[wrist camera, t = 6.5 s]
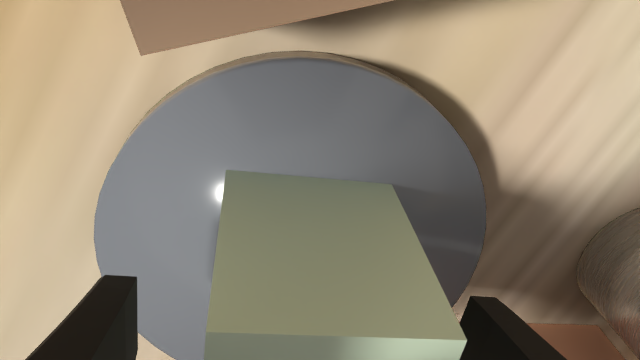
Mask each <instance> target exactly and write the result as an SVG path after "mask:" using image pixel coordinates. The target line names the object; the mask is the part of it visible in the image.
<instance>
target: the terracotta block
mask: <svg viewBox="0 0 640 360" xmlns="http://www.w3.org/2000/svg"><path fill="white" fill-rule="evenodd" d="M459 323H460V322H459ZM526 324H528V325H529V326H530V327H531V328H532V329H533V330H534V331H535V332H537V333H538V334H539V335H540V336H541V337H542V338H543V339H544V340H546V341H547V342H548V343H549V344H550V345H551V346H552V347H553V348H555V349H556V350H557V351H558V352H559V353H560V354H561V355H562V356H564V357H565V358H566V359H567V360H625V359H624V358H623V356H622V355H621V354H620V353H619V351H618V350H617V349H616V348H615V347H614V345H613V344H612V343H611V342H610V340H609V339H608V338H607V337H606V335H605V334H604V333H603V332H602V331H601V329H600V328H599V327H598V326H597V325H574V324H533V323H526Z"/></svg>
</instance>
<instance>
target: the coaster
mask: <svg viewBox="0 0 640 360" xmlns="http://www.w3.org/2000/svg"><path fill="white" fill-rule="evenodd" d="M226 170H235V171H246V172H258V173H269V174H280V175H292V176H303V177H315V178H326V179H337V180H349V181H360V182H371V183H383V184H392V186H393V188H394V190H395V192H396V194H397V196H398V198H399V201H400V203H401V205H402V207H403V209H404V211H405V213H406V215H407V217H408V219H409V221H410V223H411V225H412V227H413V229H414V231H415V234H416V236H417V238H418V240H419V242H420V244H421V246H422V248H423V250H424V252H425V254H426V256H427V258H428V260H429V262H430V264H431V267H432V269H433V271H434V273H435V275H436V277H437V279H438V281H439V283H440V285H441V287H442V289H443V291H444V293H445V295H446V297H447V300H448V302H449V304H450V306H451V308H452V307H453V306H454V304H455V303H456V302H457V300H458V299H459V297H460V296H461V294H462V293H463V291H464V290H465V288H466V287H467V285H468V283H469V281H470V279H471V277H472V275H473V273H474V270H475V268H476V266H477V263H478V260H479V257H480V254H481V251H482V247H483V242H484V236H485V230H486V202H485V195H484V188H483V184H482V181H481V178H480V174H479V171H478V168H477V165H476V163H475V161H474V159H473V157H472V155H471V153H470V151H469V149H468V147H467V145H466V144H465V143H464V141H463V140H462V139H461V137H460V136H459V135H458V133H457V132H456V130H455V129H454V128H453V126H452V125H451V124H450V123H449V122H448V121H447V120H446V119H445V117H444V116H443V115H442V114H441V113H440V112H439V111H438V110H437V109H436V108H435V107H434V106H433V105H432V104H431V103H430V102H429V101H428V100H427V99H426V98H425V97H424V96H423V95H422V94H421V93H419V92H418V91H417V90H415V89H414V88H413V87H411V86H410V85H409V84H407V83H406V82H404V81H403V80H401V79H400V78H398V77H396V76H394V75H392V74H390V73H388V72H386V71H384V70H383V69H381V68H378V67H376V66H373V65H370V64H367V63H365V62H362V61H359V60H356V59H353V58H348V57H343V56H339V55H334V54H329V53H320V52H307V51H289V52H271V53H265V54H260V55H255V56H249V57H244V58H240V59H237V60H234V61H231V62H228V63H225V64H222V65H219V66H216V67H213V68H211V69H209V70H207V71H205V72H203V73H201V74H199V75H197V76H195V77H193V78H191V79H189V80H188V81H186V82H185V83H183V84H182V85H180V86H179V87H177V88H176V89H174V90H173V91H171V92H170V93H168V94H167V95H166V96H165V97H163V98H162V99H161V100H160V101H159V102H158V103H157V104H156V105H155V106H154V107H152V108H151V109H150V110H149V111H148V112H147V113H146V114H145V116H144V117H143V118H142V119H141V120H140V122H139V123H138V124H137V125H136V127H135V128H134V129H133V130H132V131H131V133H130V135H129V137H128V138H127V140H126V142H125V143H124V145H123V147H122V148H121V150H120V152H119V154H118V155H117V157H116V159H115V161H114V162H113V164H112V166H111V168H110V169H109V171H108V173H107V176H106V179H105V181H104V184H103V186H102V189H101V191H100V194H99V199H98V204H97V209H96V213H95V225H94V243H95V250H96V257H97V263H98V266H99V269H100V272H101V276H102V277H103V276H104V275H118V276H135V277H137V331H138V333H139V334H141V335H142V336H143V337H144V338H145V339H147V340H148V341H149V342H150V343H151V344H153V345H154V346H155V347H157V348H158V349H160V350H161V351H163V352H164V353H166V354H167V355H169V356H170V357H172V358H174V359H176V360H204V350H205V336H206V326H207V318H208V310H209V302H210V294H211V286H212V278H213V270H214V262H215V254H216V246H217V238H218V230H219V222H220V214H221V206H222V197H223V189H224V181H225V173H226Z"/></svg>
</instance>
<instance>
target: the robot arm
mask: <svg viewBox="0 0 640 360" xmlns="http://www.w3.org/2000/svg"><path fill="white" fill-rule="evenodd" d="M459 324H460V326H461V328H462V330H463V333H464V335H465V337H466V339H467V342H466V345H465V347H464V350H463V352H462V354H461V357H460V359H459V360H567V359H566V358H565V357H564V356H562V355H561V354H560V353H559V352H558V351H557V350H556V349H555V348H553V347H552V346H551V345H550V344H549V343H548V342H547V341H546V340H544V339H543V338H542V337H541V336H540V335H539V334H538V333H537V332H535V331H534V330H533V329H532V328H531V327H530V326H529V325H528V324H526V323H525V322H524V321H523V320H522V319H521V318H520V317H518V316H517V315H516V314H515V313H514V312H513V311H511V310H510V309H509V308H508V307H507V306H506V305H504V304H503V303H502V302H501V301H499V300H498V299H497V298H495V297H479V296H470V299H469V301H468V304H467V306H466V309H465V311H464V314H463V316H462V319H461V321H460V323H459ZM137 350H138V331H137V277H135V276H118V275H104V276H103V277H101V278H100V279H99V280H98V281H97V282H96V284H95V285H94V286H93V287H92V288H91V290H90V291H89V292H88V293H87V294H86V295H85V297H84V298H83V299H82V300H81V301H80V302H79V303H78V305H77V306H76V307H75V308H74V309H73V310H72V311H71V312H70V313H69V315H68V316H67V317H66V318H65V319H64V320H63V321H62V322H61V323H60V324H59V325H58V326H57V328H56V329H55V330H54V331H53V332H52V333H51V334H50V335H49V336H48V337H47V338H46V339H45V340H44V341H43V342H42V343H41V344H40V345H39V346H38V347H37V348H36V349H35V350H34V351H33V352H32V353H31V354H30V355H29V356H28V357H27V358H26V359H25V360H136V355H137Z"/></svg>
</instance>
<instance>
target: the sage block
mask: <svg viewBox="0 0 640 360" xmlns="http://www.w3.org/2000/svg"><path fill="white" fill-rule="evenodd" d="M466 342H467V339H466V337H465V335H464V333H463V330H462V328H461V326H460V324H459V322H458V320H457V318H456V316H455V314H454V312H453V310H452V308H451V306H450V304H449V302H448V300H447V297H446V295H445V293H444V291H443V289H442V287H441V285H440V283H439V281H438V279H437V277H436V275H435V273H434V271H433V269H432V267H431V264H430V262H429V260H428V258H427V256H426V254H425V252H424V250H423V248H422V246H421V244H420V242H419V240H418V238H417V236H416V234H415V231H414V229H413V227H412V225H411V223H410V221H409V219H408V217H407V215H406V213H405V211H404V209H403V207H402V205H401V203H400V201H399V198H398V196H397V194H396V192H395V190H394V188H393V186H392V184H383V183H371V182H360V181H349V180H337V179H326V178H315V177H303V176H292V175H280V174H269V173H258V172H246V171H235V170H226V173H225V181H224V189H223V197H222V206H221V214H220V222H219V230H218V238H217V246H216V254H215V262H214V270H213V278H212V286H211V294H210V302H209V310H208V318H207V326H206V336H205V350H204V360H459V359H460V357H461V354H462V352H463V350H464V347H465V345H466Z"/></svg>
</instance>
